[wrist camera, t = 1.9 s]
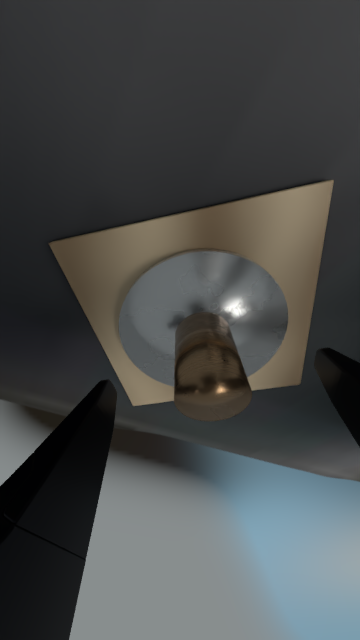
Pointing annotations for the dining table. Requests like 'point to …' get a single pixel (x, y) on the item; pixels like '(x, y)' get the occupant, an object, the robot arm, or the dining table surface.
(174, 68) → the dining table surface
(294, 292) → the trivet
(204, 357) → the lid
